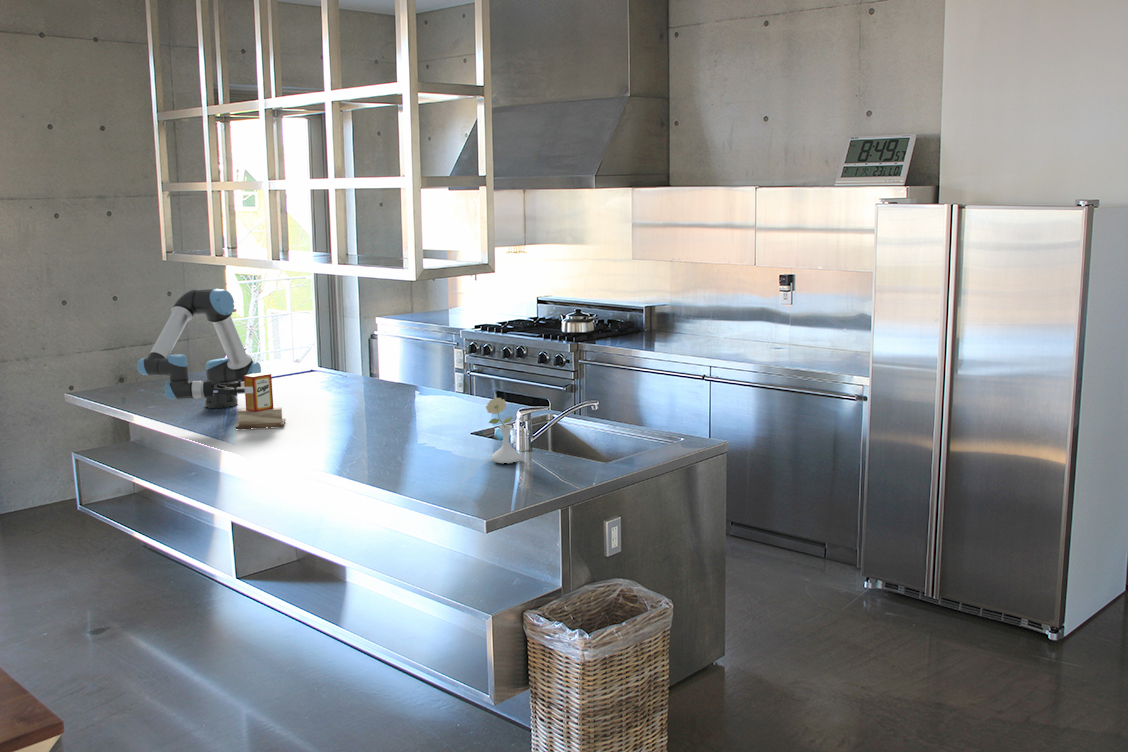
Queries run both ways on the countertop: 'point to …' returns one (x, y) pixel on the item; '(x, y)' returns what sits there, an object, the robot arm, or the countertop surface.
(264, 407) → the baking soda box
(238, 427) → the ridge stand
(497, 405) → the flower in vase
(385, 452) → the countertop surface
